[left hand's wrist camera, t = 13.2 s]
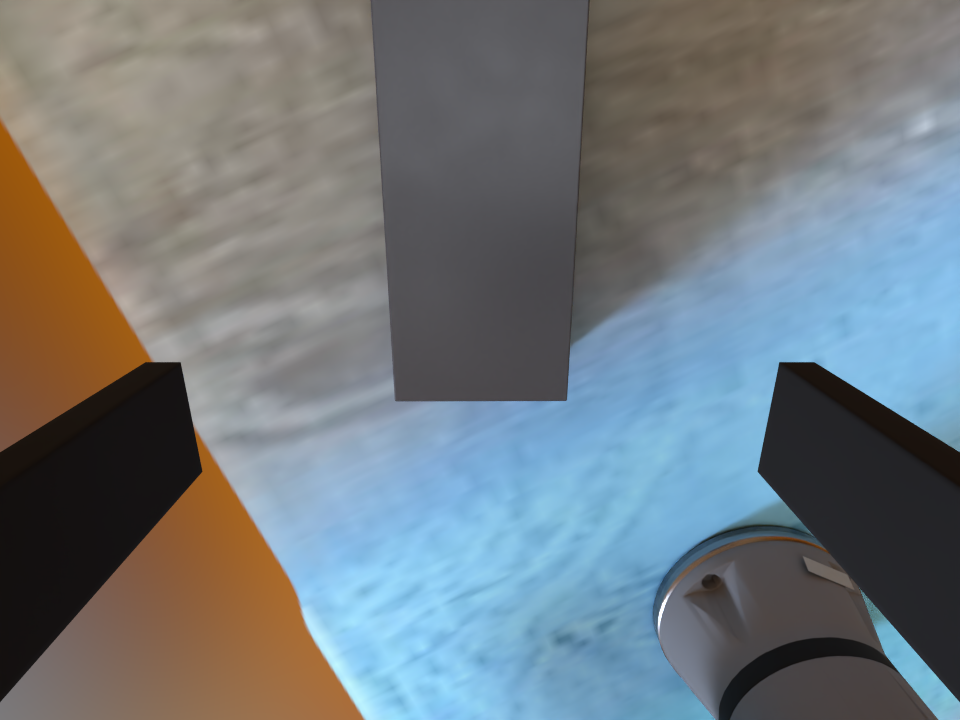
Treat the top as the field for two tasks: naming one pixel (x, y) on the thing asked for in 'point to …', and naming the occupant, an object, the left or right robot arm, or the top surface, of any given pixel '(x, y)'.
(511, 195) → the slab
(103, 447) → the left robot arm
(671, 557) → the top surface
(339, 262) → the top surface
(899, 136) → the top surface
